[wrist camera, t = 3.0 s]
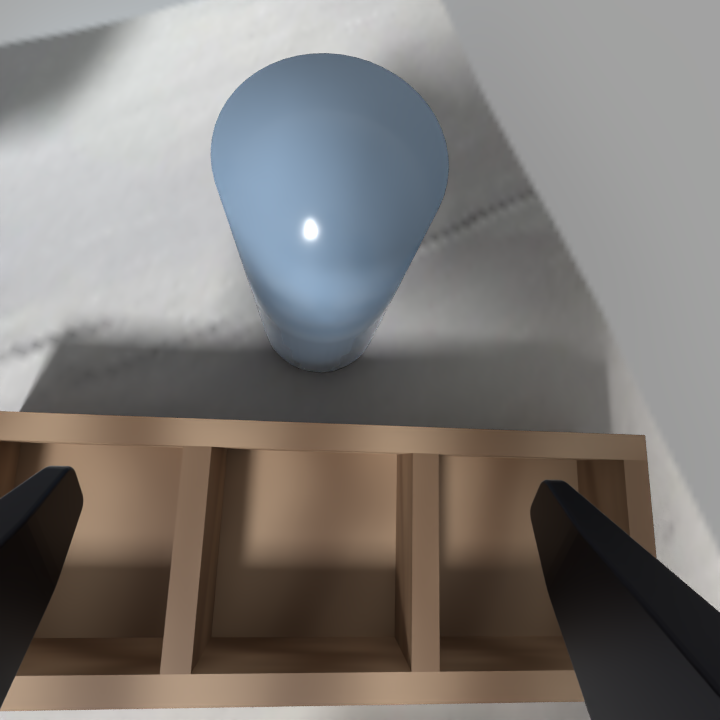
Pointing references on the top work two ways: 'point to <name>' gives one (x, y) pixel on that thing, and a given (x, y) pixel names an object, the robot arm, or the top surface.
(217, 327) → the top surface
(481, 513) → the rack
